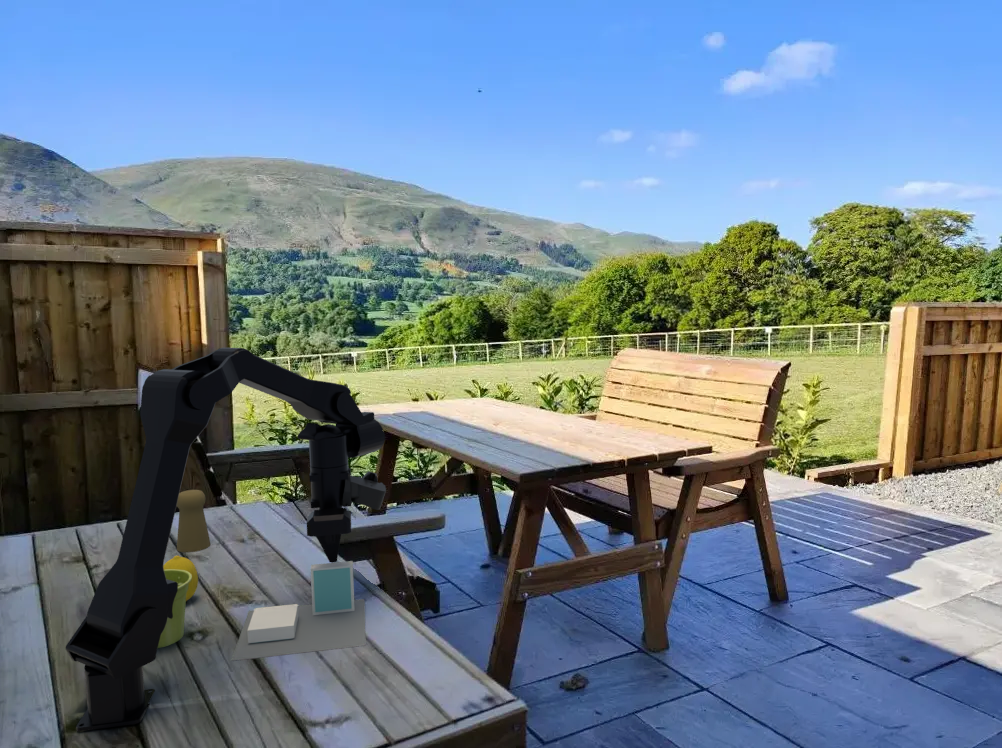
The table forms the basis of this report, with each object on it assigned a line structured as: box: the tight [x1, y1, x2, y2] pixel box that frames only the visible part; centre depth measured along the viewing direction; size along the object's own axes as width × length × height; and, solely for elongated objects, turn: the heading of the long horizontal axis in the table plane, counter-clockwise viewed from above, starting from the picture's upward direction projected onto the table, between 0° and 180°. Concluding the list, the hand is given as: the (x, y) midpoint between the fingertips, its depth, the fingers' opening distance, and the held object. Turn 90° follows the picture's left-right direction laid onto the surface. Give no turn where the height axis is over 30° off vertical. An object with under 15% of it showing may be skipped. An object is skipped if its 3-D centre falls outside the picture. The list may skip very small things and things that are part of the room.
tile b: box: [310, 560, 355, 615], centre depth 103 cm, size 2×6×7 cm, turn 102°
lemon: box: [163, 555, 199, 602], centre depth 107 cm, size 6×6×8 cm
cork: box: [176, 489, 211, 553], centre depth 134 cm, size 6×6×11 cm
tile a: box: [247, 603, 299, 643], centre depth 98 cm, size 2×6×7 cm
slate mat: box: [230, 598, 367, 662], centre depth 99 cm, size 15×17×1 cm
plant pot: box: [157, 569, 192, 649], centre depth 96 cm, size 9×9×9 cm
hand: (333, 561), depth 109 cm, fingers closed
